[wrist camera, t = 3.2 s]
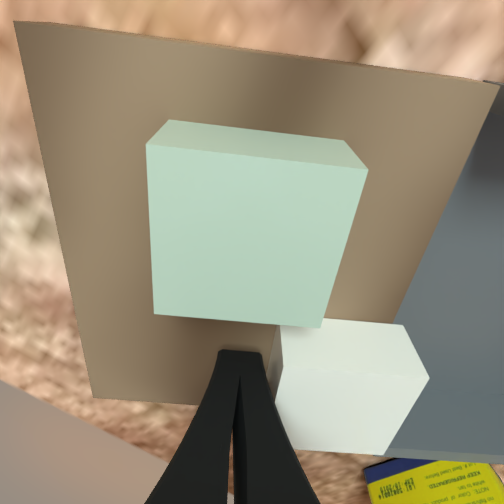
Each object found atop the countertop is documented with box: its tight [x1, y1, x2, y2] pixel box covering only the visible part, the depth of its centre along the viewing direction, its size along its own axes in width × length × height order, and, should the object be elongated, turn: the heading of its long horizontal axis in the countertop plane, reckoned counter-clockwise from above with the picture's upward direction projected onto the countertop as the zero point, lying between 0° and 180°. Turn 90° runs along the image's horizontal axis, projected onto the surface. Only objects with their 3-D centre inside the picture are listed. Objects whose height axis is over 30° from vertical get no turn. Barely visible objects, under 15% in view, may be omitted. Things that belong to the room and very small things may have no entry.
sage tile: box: [146, 120, 368, 328], centre depth 8 cm, size 4×4×2 cm
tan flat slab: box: [13, 21, 500, 405], centre depth 11 cm, size 10×12×2 cm
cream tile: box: [266, 318, 430, 455], centre depth 11 cm, size 4×4×2 cm
